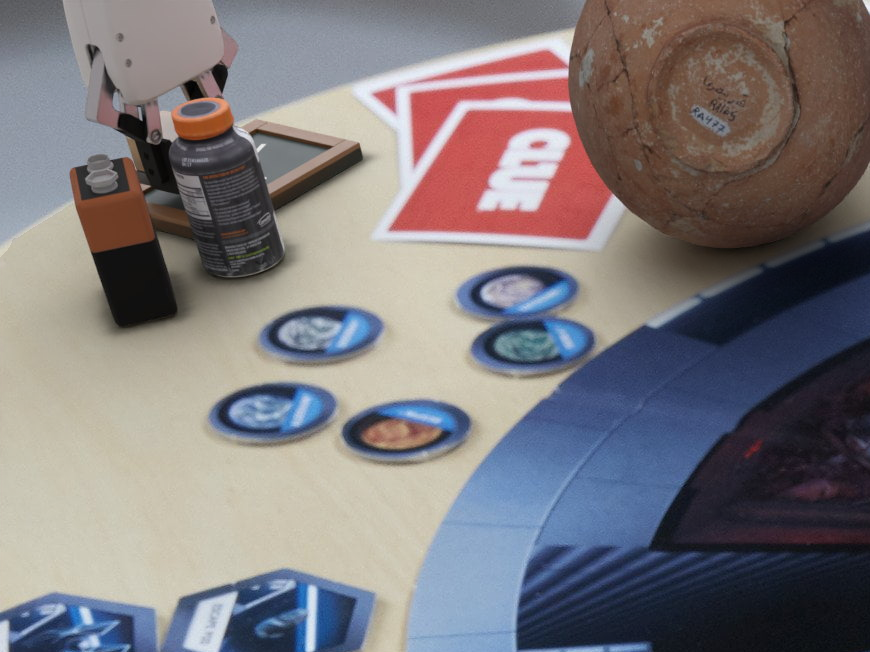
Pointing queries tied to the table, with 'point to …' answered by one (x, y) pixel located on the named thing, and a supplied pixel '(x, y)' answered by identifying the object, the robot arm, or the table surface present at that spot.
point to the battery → (122, 240)
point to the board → (269, 170)
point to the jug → (724, 111)
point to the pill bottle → (223, 190)
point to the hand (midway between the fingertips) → (192, 174)
